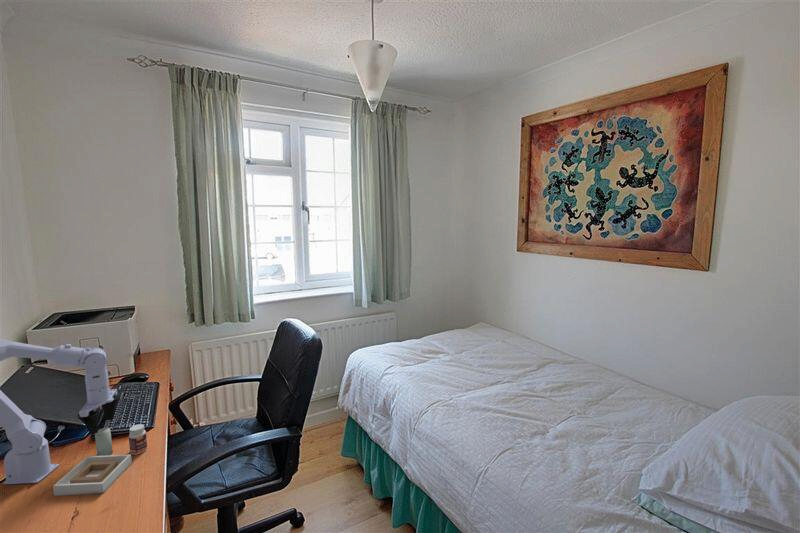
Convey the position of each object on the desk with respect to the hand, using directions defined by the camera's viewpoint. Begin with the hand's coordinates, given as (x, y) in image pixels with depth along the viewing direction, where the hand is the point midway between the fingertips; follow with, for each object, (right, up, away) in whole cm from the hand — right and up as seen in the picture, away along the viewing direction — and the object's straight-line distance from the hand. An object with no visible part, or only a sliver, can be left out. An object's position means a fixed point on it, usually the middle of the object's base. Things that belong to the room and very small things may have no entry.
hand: (102, 426), depth 123 cm
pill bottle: (+10, -10, +3) cm, 14 cm away
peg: (0, -10, +1) cm, 10 cm away
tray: (+6, -11, -10) cm, 16 cm away
